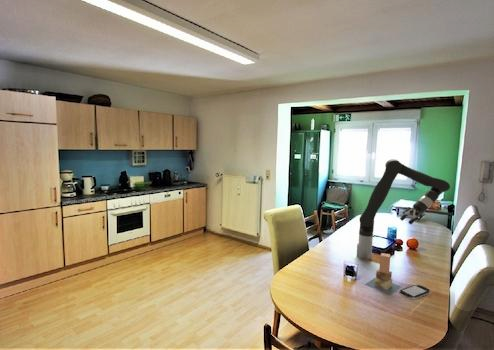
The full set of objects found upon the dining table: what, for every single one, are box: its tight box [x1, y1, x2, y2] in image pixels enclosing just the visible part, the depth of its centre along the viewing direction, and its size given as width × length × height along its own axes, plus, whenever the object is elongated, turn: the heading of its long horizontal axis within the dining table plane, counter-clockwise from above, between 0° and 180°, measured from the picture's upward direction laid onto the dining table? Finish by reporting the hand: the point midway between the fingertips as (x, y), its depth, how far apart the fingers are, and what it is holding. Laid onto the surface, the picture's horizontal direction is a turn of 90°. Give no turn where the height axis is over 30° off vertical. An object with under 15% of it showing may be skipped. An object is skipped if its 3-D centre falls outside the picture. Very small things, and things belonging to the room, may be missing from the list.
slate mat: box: [364, 277, 403, 296], centre depth 159 cm, size 15×15×1 cm
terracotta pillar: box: [378, 252, 391, 274], centre depth 158 cm, size 5×5×10 cm
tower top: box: [375, 269, 393, 282], centre depth 159 cm, size 6×6×4 cm
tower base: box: [374, 276, 393, 290], centre depth 159 cm, size 7×7×4 cm
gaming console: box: [398, 284, 431, 300], centre depth 152 cm, size 19×9×2 cm, turn 117°
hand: (405, 221), depth 180 cm, fingers open, 8 cm apart
